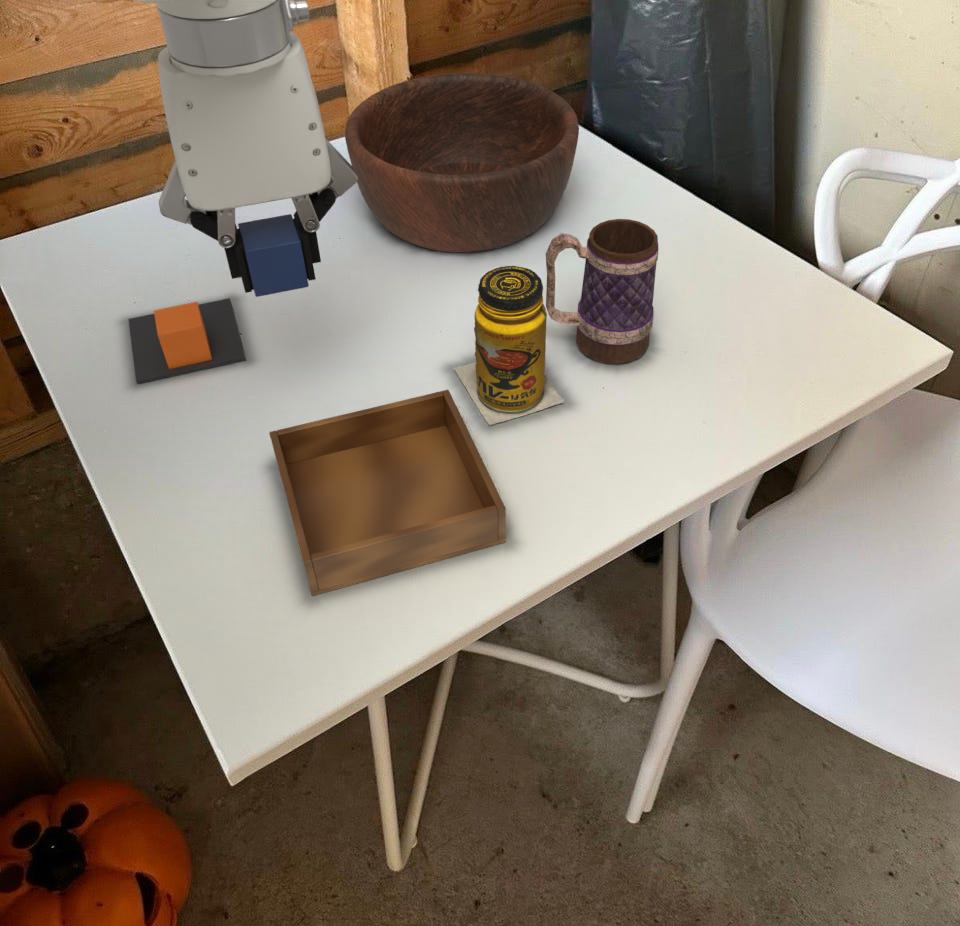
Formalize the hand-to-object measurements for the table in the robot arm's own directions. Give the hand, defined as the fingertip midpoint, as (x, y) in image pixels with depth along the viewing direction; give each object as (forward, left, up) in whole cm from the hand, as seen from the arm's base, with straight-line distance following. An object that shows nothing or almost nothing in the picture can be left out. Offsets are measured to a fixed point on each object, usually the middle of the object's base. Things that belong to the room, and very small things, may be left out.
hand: (277, 274), depth 70 cm
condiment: (+18, -2, -15) cm, 24 cm away
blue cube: (0, 0, 0) cm, 0 cm away
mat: (-9, +15, -15) cm, 23 cm away
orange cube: (-9, +13, -15) cm, 22 cm away
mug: (+28, +1, -15) cm, 32 cm away
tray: (+4, -12, -15) cm, 20 cm away
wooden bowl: (+24, +29, -15) cm, 41 cm away
